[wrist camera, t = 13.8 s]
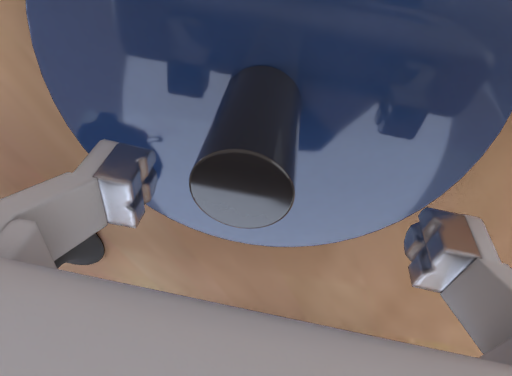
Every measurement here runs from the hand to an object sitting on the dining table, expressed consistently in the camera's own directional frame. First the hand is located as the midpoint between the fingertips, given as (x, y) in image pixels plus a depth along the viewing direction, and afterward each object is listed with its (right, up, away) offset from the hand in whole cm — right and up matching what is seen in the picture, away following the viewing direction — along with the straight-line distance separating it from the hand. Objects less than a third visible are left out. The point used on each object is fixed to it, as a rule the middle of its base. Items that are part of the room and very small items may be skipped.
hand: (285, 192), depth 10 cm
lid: (-1, +3, +1) cm, 4 cm away
